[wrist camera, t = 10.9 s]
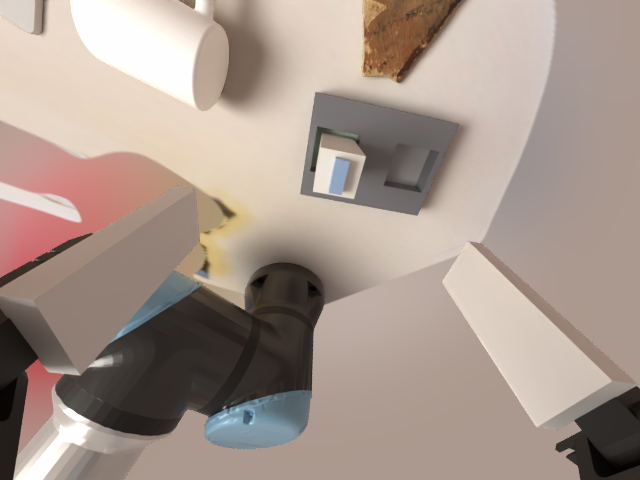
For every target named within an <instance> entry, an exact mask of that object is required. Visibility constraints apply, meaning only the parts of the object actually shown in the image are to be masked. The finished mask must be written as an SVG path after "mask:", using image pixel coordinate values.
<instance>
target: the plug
mask: <svg viewBox="0 0 640 480" xmlns="http://www.w3.org/2000/svg"><path fill="white" fill-rule="evenodd" d="M365 158H366V156H365V154H364V153H363V152H362V150H361V149H360V147H359V146H358V145H357V143H356V142H355V141H354V139H353V138H352V137H349V136H345V135H340V134H335V133H330V132H325V131H322V135H321V140H320V146H319V152H318V158H317V164H316V171H315V179H314V187H313V192H318V193H323V194H329V195H334V196H339V197H345V198H350V199H354V197H355V194H356V190H357V187H358V183H359V179H360V176H361V172H362V169H363V165H364V162H365Z"/></svg>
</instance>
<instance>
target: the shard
mask: <svg viewBox="0 0 640 480" xmlns="http://www.w3.org/2000/svg"><path fill="white" fill-rule="evenodd" d="M460 1H461V0H363V3H362V13H363V49H362V66H361V68H362V75H363V76H364V77H370V76H386V77H389V78H390V79H392V80H393V81H395V82H396V83H399V82H400V81H401V79H402V77H403V76H404V75H405V73H406V72H407V71H408V70H409V69H410V67H411V66H412V65H413V63H414V62H415V60H416V59H417V58H418V57H419V56H420V54H421V53H422V52H423V50H424V49H425V48H426V47H427V45H428V44H429V43H430V42H431V41H432V39H433V38H434V37H435V35H436V34H437V33H438V32H439V30H440V29H441V27H442V26H443V25H444V24H445V22H446V21H447V19H448V18H449V16H450V15H451V13H452V11H453V10H454V8H455V7H456V6H457V4H458V3H459V2H460Z"/></svg>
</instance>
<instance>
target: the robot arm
mask: <svg viewBox="0 0 640 480" xmlns="http://www.w3.org/2000/svg"><path fill="white" fill-rule="evenodd" d="M199 241H200V236H199V225H198V212H197V200H196V189H194V188H188V187H183V186H179V185H178V186H176V187H174V188H172V189H170V190H169V191H167V192H166V193H164V194H162V195H160V196H158V197H157V198H155V199H153V200H151V201H150V202H148V203H146V204H144V205H143V206H141V207H139V208H138V209H136V210H134V211H132V212H131V213H129V214H127V215H125V216H124V217H122V218H121V219H119V220H117V221H115V222H113V223H112V224H110V225H108V226H106V227H105V228H103V229H101V230H99V231H98V232H96V233H94V234H92V233H90V234H87V235H84V236H81V237H77V238H74V239H71V240H69V241H67V242H65V243H63V244H61V245H59V246H57V247H56V248H54V249H52V250H50V253H45V254H43V255H41V256H39V257H37V258H35V260H34V262H28V263H26V264H25V265H23V266H21V267H19V268H17V269H15V270H14V271H12V272H10V273H8V274H6V275H4V276H3V277H1V278H0V480H124V479H125V478H126V476H127V475H128V473H129V471H130V470H131V468H132V467H133V465H134V464H135V462H136V461H137V459H138V458H139V456H140V454H141V453H142V451H143V450H144V448H145V447H146V446H147V445H149V444H151V443H153V442H155V441H158V440H160V439H162V438H165V437H167V436H169V435H170V434H171V433H172V432H173V430H174V429H175V428H176V426H177V424H178V423H179V421H180V420H181V418H182V416H183V415H184V413H185V411H186V410H188V409H189V410H194V411H197V412H199V413H202V414H205V415H207V416H208V417H209V419H208V420H207V421H206V423H205V438H206V439H207V440H208V441H210V442H211V443H212V444H215V445H218V446H222V447H227V448H238V449H256V448H265V447H272V446H276V445H281V444H284V443H287V442H290V441H292V440H294V439H296V438H297V437H298V436H300V435H301V433H302V432H303V431H304V430H305V428H306V426H307V423H308V417H309V408H310V399H311V398H312V392H311V391H312V360H313V332H314V328H315V325H316V323H317V321H318V319H319V316H320V314H321V311H322V309H323V306H324V288H323V285H322V283H321V281H320V280H319V279H318V277H317V276H316V275H315V274H313V273H312V272H311V271H309V270H308V269H306V268H304V267H301V266H298V265H295V264H289V263H275V264H270V265H267V266H264V267H262V268H260V269H259V270H257V271H256V272H255V273H254V274H253V275H252V276H251V278H250V280H249V282H248V285H247V287H246V290H245V310H243V309H241V308H240V307H238V306H236V305H234V304H233V303H231V302H229V301H228V300H226V299H225V298H223V297H221V296H220V295H218V294H216V293H214V292H213V291H211V290H210V289H208V288H206V287H205V286H203V285H202V284H203V283H201V282H196V281H194V280H192V279H191V278H189V277H187V276H185V275H183V274H181V273H179V272H177V271H175V270H174V269H175V268H176V267H177V266H178V265H179V264H180V263H181V261H182V260H183V259H184V258H185V257H186V256H187V255H188V254H189V252H190V251H191V250H192V249H193V248H194V247H195V246H196V244H197V243H198V242H199ZM442 283H443V285H444V286H445V288H446V289H447V291H448V292H449V294H450V295H451V297H452V298H453V300H454V302H455V303H456V305H457V306H458V308H459V309H460V310H461V312H462V314H463V315H464V317H465V318H466V320H467V321H468V323H469V325H470V326H471V328H472V329H473V331H474V332H475V334H476V335H477V337H478V338H479V340H480V341H481V343H482V344H483V346H484V347H485V349H486V351H487V352H488V354H489V355H490V357H491V358H492V360H493V361H494V363H495V364H496V366H497V367H498V369H499V370H500V372H501V374H502V375H503V376H504V378H505V380H506V381H507V383H508V384H509V386H510V387H511V389H512V390H513V392H514V393H515V395H516V396H517V398H518V400H519V401H520V403H521V404H522V406H523V407H524V409H525V410H526V412H527V413H528V415H529V416H530V418H531V420H532V421H533V423H534V424H535V426H536V427H538V428H547V429H556V430H558V429H561V428H563V427H564V426H566V425H568V424H570V423H571V422H573V421H575V422H576V423H577V425H578V426H579V427H580V428H581V430H582V431H580V432H578V433H576V434H575V435H573V436H571V437H569V438H567V439H565V440H563V441H561V442H559V443H557V444H556V450H557V451H558V452H562V451H564V450H566V449H568V448H571V449H573V450H575V451H574V452H572V453H570V454H568V455H567V456H566V458H568V459H569V460H570V461H572V462H573V463H574V464H576V465H577V466H578V468H579V474H580V479H581V480H640V389H639V388H638V387H637V385H638V383H636V382H635V381H634V380H633V379H632V378H631V377H630V376H629V375H628V374H626V373H625V372H624V371H623V370H622V369H621V368H620V367H619V366H618V365H616V364H615V363H614V362H613V361H612V360H611V359H610V358H609V357H607V356H606V355H605V354H604V353H603V352H602V351H601V350H600V349H599V348H597V347H596V346H595V345H594V344H593V343H592V342H591V341H590V340H589V339H588V338H586V337H585V336H584V335H583V334H582V333H581V332H580V331H579V330H578V329H576V328H575V327H574V326H573V325H572V324H571V323H570V322H569V321H568V320H566V319H565V318H564V317H563V316H562V315H561V314H560V313H559V312H557V311H556V310H555V309H554V308H553V307H552V306H551V305H550V304H549V303H548V302H546V301H545V300H544V299H543V298H542V297H541V296H540V295H539V294H537V293H536V292H535V291H534V290H533V289H532V288H531V287H530V286H529V285H527V284H526V283H525V282H524V281H523V280H522V279H521V278H520V277H519V276H517V275H516V274H515V273H514V272H513V271H512V270H511V269H510V268H509V267H507V266H506V265H505V264H504V263H503V262H502V261H501V260H500V259H499V258H497V257H496V256H495V255H494V254H493V253H492V252H491V251H490V250H488V249H487V248H486V247H485V246H484V245H483V244H481V243H476V242H471V241H468V242H467V244H466V245H465V247H464V248H463V250H462V251H461V253H460V255H459V256H458V258H457V259H456V261H455V262H454V264H453V266H452V267H451V269H450V270H449V272H448V274H447V275H446V277H445V278H444V280H443V281H442ZM37 359H39V361H40V362H41V363H42V365H43V366H44V367H45V368H46V370H47V371H48V372H54V373H62V374H64V375H63V376H62V377H61V379H60V380H59V381H58V382H57V383H56V384H55V386H54V387H53V388H52V400H53V408H54V413H53V415H52V416H51V417H50V419H49V420H48V421H47V422H46V423H45V425H44V426H43V427H42V428H41V429H40V430H39V431H38V433H37V434H36V435H35V436H34V437H33V438H32V440H31V441H30V442H29V443H28V444H27V446H26V447H25V448H24V449H23V450H22V451H21V452H20V454H19V455H18V456H17V451H18V445H19V438H20V432H21V425H22V418H23V412H24V405H25V398H26V392H27V385H28V377H27V373H26V372H25V370H26V369H27V368H28V367H29V366H30V365H31V364H32V363H34V362H35V361H36V360H37Z"/></svg>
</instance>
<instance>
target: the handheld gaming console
mask: <svg viewBox="0 0 640 480" xmlns="http://www.w3.org/2000/svg"><path fill="white" fill-rule="evenodd" d="M42 14H43V0H0V16H1V17H3V18H4V19H6V20H7V21H9V22H10V23H12V24H13V25H15V26H17V27H18V28H20V29H21V30H23V31H26V32H28V33H31V34H35V35H39V34H40V33H42Z"/></svg>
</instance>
